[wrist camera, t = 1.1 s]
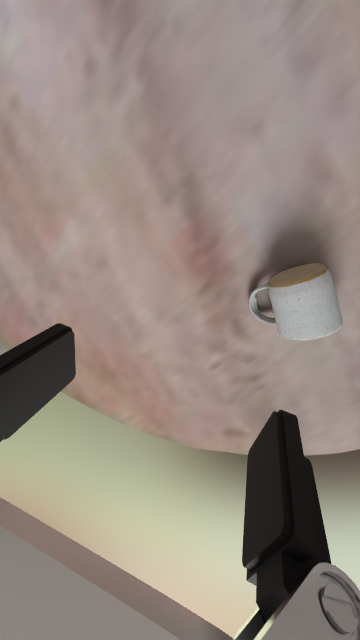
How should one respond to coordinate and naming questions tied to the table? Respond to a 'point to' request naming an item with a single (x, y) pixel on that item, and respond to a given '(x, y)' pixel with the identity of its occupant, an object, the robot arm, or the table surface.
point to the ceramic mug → (301, 302)
